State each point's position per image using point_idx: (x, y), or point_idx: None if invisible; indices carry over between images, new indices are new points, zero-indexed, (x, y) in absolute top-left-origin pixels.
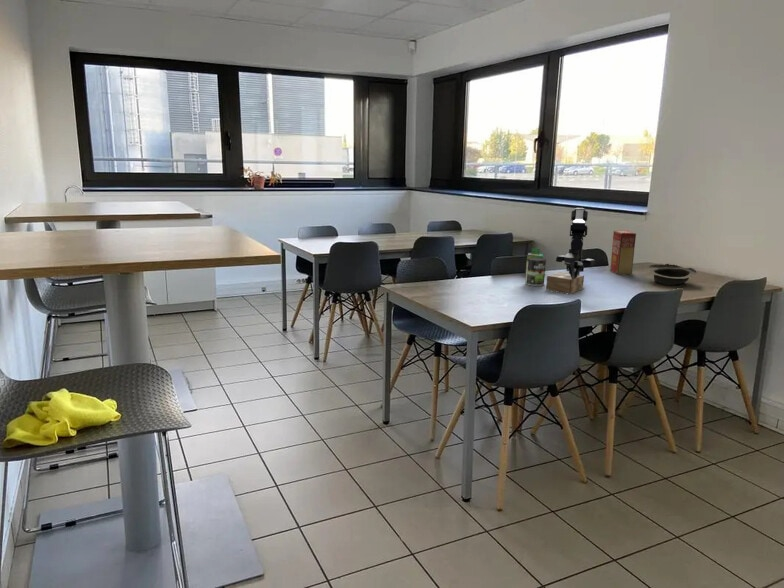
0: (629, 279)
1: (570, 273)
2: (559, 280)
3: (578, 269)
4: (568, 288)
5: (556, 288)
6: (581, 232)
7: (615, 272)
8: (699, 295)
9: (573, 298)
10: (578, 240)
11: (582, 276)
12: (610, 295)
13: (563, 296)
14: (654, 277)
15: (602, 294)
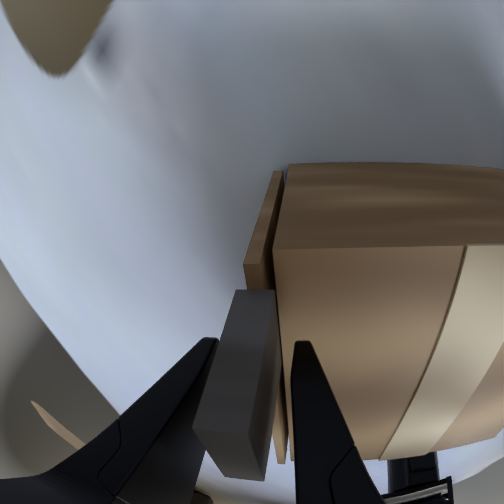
0: (261, 497)
1: (317, 389)
2: (472, 222)
3: (69, 457)
4: (303, 183)
5: (452, 175)
6: None
7: None
8: (58, 429)
9: (146, 37)
10: None
11: (276, 448)
12: (102, 336)
13: (262, 16)
14: (196, 502)
15: (135, 333)
